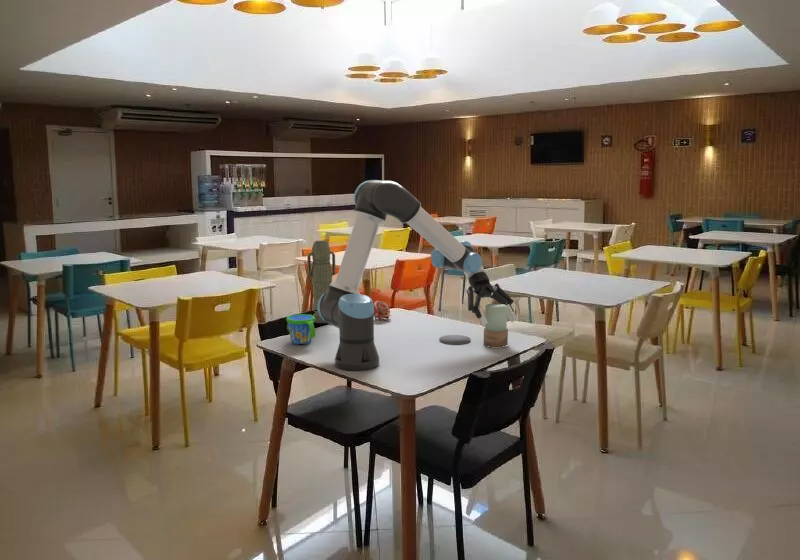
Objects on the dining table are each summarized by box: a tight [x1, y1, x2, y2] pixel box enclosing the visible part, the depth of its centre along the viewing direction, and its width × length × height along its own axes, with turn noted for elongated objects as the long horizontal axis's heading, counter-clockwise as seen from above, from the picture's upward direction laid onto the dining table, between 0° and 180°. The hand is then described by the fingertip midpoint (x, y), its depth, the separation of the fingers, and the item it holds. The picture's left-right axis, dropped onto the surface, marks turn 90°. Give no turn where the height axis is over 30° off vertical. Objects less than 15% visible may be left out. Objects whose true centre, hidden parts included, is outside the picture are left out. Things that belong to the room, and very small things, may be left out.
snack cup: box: [285, 313, 316, 346], centre depth 250 cm, size 16×10×10 cm
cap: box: [484, 303, 508, 332], centre depth 245 cm, size 8×8×9 cm
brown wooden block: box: [483, 327, 509, 348], centre depth 246 cm, size 9×9×6 cm
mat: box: [439, 334, 471, 346], centre depth 253 cm, size 12×12×1 cm
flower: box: [373, 299, 392, 321], centre depth 288 cm, size 10×9×8 cm
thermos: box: [306, 240, 336, 324], centre depth 282 cm, size 9×12×35 cm
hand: (499, 322), depth 243 cm, fingers open, 12 cm apart
